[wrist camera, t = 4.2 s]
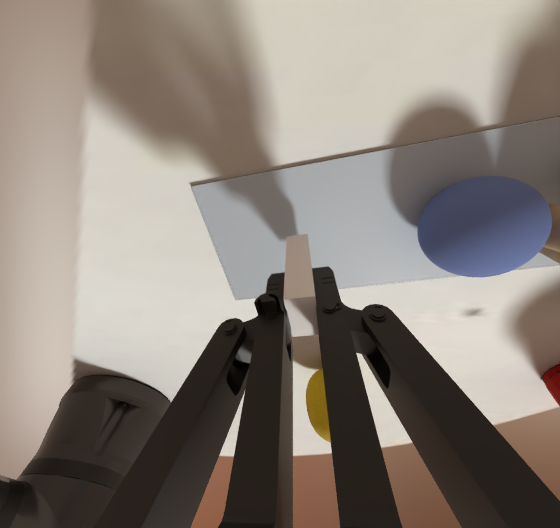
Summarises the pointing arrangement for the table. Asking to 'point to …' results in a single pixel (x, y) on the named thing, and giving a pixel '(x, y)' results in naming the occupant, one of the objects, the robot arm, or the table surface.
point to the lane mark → (366, 206)
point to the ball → (484, 226)
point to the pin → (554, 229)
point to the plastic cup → (553, 382)
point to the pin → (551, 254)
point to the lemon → (318, 405)
